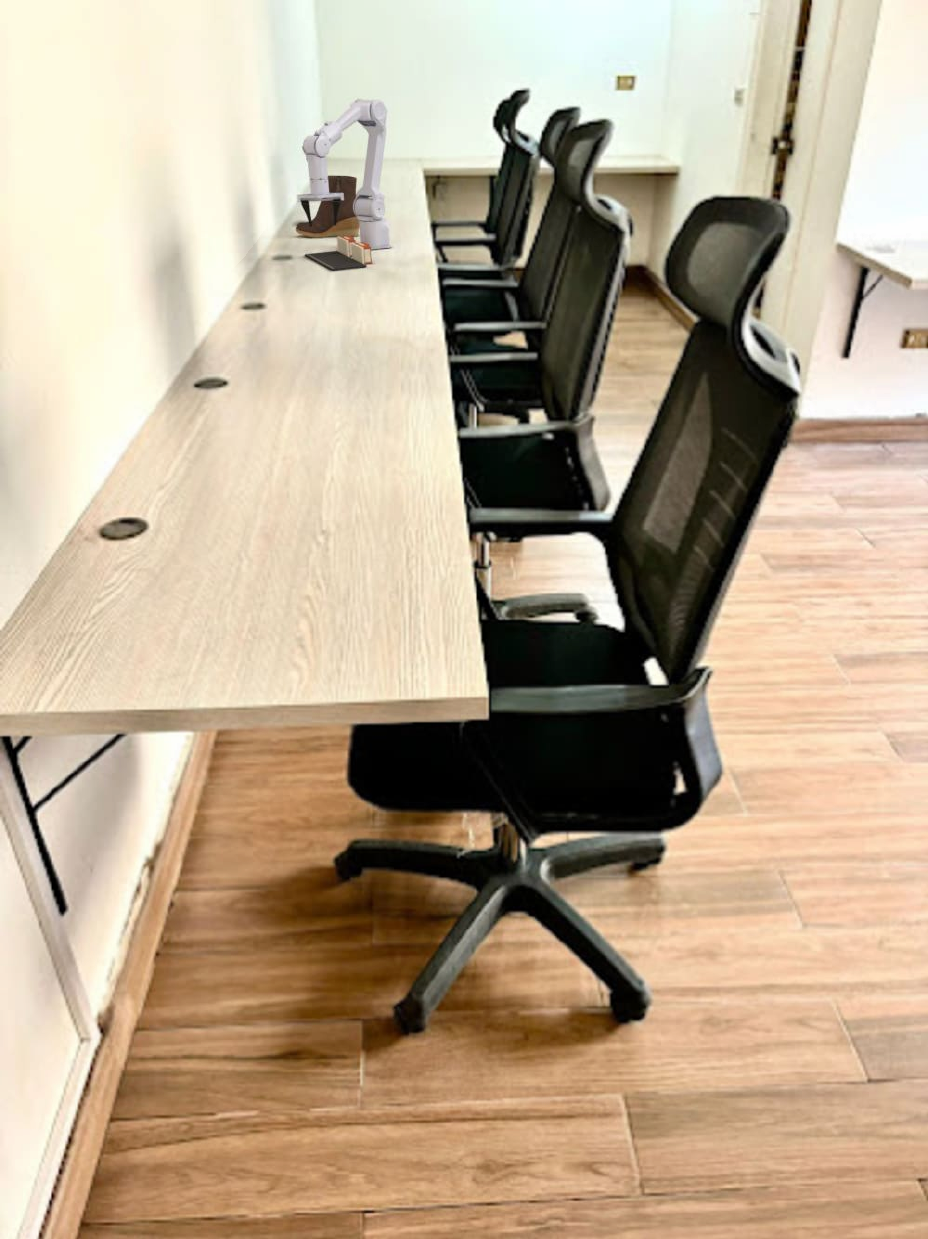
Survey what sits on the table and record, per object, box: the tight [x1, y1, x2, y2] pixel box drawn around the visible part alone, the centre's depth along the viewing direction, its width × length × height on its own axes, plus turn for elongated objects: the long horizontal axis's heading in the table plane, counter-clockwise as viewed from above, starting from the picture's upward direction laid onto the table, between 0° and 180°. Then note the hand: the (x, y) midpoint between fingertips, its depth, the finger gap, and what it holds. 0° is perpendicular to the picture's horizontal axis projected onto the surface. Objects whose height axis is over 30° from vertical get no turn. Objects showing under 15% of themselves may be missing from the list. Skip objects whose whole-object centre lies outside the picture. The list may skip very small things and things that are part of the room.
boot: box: [295, 175, 360, 239], centre depth 337 cm, size 9×24×20 cm, turn 84°
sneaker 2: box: [351, 241, 373, 265], centre depth 299 cm, size 4×10×5 cm, turn 25°
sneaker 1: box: [336, 236, 357, 258], centre depth 310 cm, size 4×10×5 cm, turn 25°
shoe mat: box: [304, 250, 367, 272], centre depth 301 cm, size 11×28×1 cm, turn 25°
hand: (323, 225), depth 302 cm, fingers open, 7 cm apart
